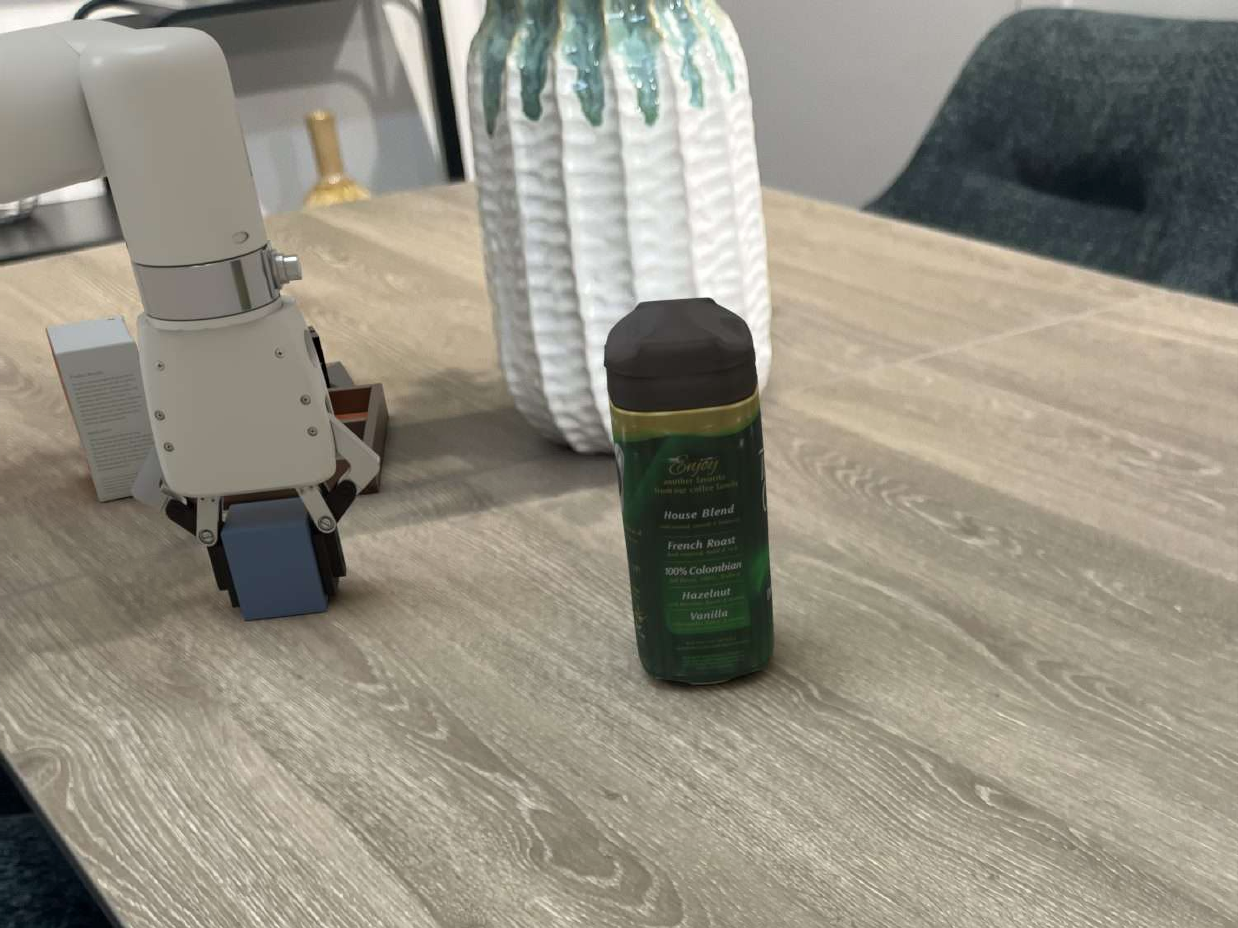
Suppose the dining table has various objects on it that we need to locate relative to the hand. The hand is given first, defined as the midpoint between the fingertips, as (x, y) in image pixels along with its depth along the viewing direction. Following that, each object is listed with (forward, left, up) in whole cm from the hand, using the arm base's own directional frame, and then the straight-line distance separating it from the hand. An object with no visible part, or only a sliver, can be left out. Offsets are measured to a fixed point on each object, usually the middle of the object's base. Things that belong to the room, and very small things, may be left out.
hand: (286, 590), depth 107 cm
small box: (-14, +27, -1) cm, 30 cm away
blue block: (0, 0, -1) cm, 1 cm away
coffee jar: (+25, -15, -1) cm, 29 cm away
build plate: (-2, +45, -1) cm, 45 cm away
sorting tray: (-2, +27, -1) cm, 27 cm away
